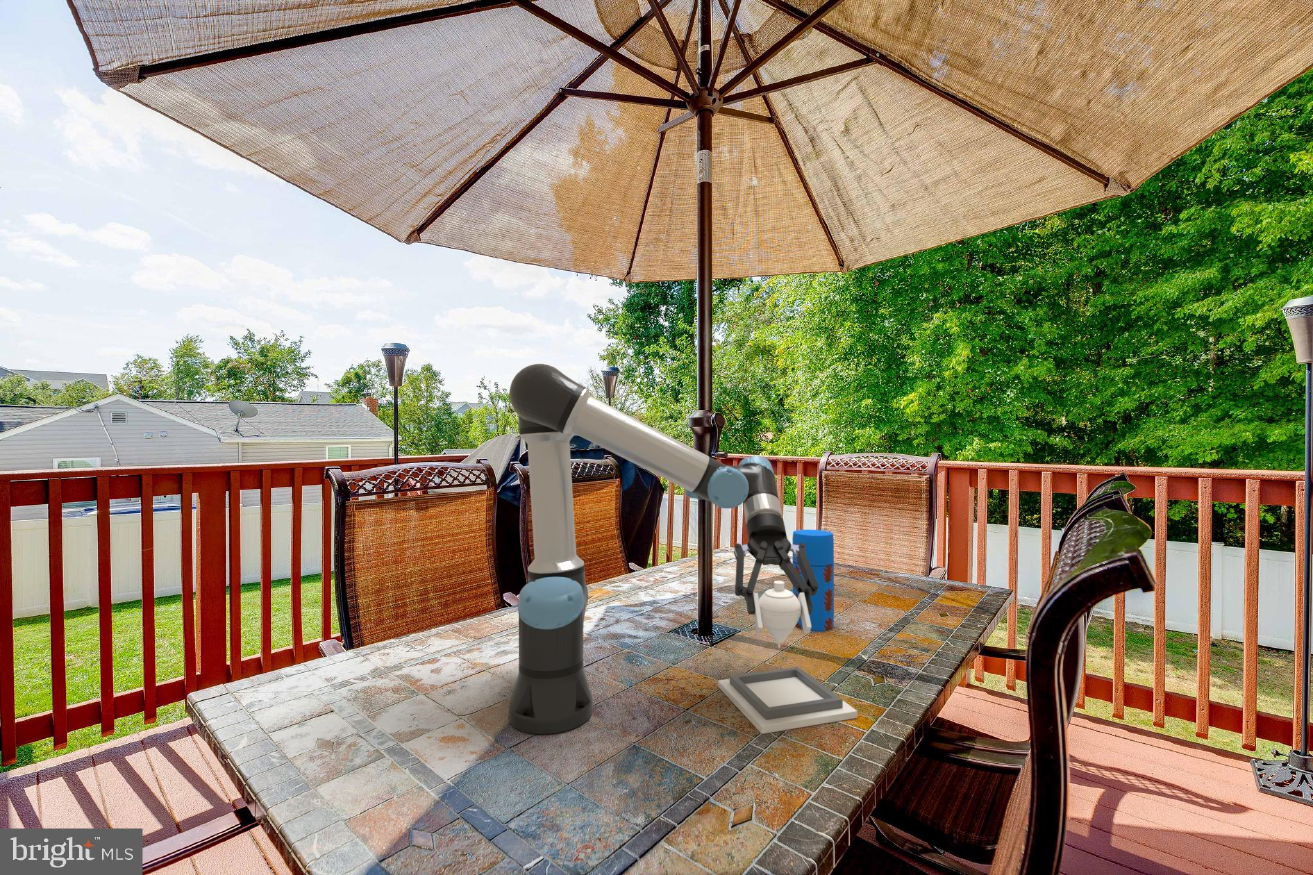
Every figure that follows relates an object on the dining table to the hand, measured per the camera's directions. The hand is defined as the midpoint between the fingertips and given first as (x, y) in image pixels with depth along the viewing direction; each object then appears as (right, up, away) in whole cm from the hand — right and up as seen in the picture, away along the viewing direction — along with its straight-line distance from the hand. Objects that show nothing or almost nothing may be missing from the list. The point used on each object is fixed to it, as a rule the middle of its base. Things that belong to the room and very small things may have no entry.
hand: (783, 630), depth 95 cm
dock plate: (+2, -17, +10) cm, 20 cm away
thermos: (+20, -18, +54) cm, 60 cm away
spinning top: (0, -5, +3) cm, 6 cm away
